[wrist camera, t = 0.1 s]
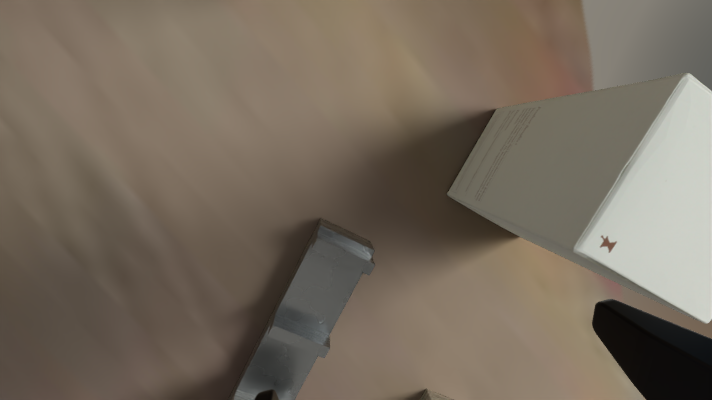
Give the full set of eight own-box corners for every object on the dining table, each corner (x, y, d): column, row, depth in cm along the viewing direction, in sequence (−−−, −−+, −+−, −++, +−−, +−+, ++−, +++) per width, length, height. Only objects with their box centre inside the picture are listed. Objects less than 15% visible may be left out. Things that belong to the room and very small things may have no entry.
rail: (264, 439, 26) (241, 566, 19) (216, 423, 26) (170, 547, 18) (370, 241, 24) (394, 290, 17) (320, 218, 24) (321, 257, 16)
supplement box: (522, 240, 26) (708, 334, 13) (442, 194, 24) (568, 252, 12) (576, 155, 25) (827, 172, 13) (497, 103, 24) (691, 65, 11)
